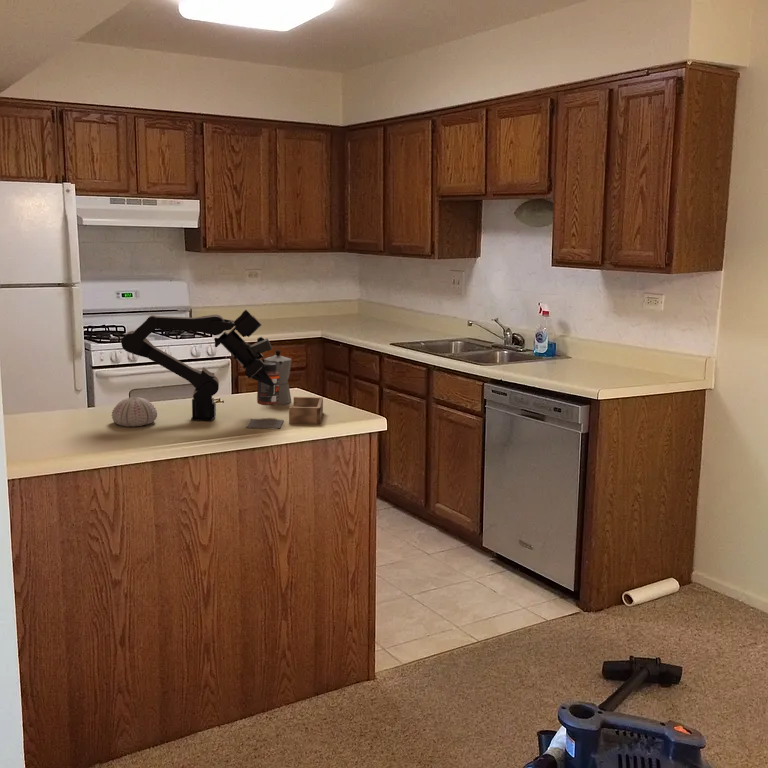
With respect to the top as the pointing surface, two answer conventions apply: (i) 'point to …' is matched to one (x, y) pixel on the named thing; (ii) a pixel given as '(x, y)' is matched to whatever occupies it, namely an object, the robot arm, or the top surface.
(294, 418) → the crate
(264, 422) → the mat
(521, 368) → the top surface
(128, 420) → the sea urchin shell
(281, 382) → the coffeepot
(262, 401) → the supplement bottle
